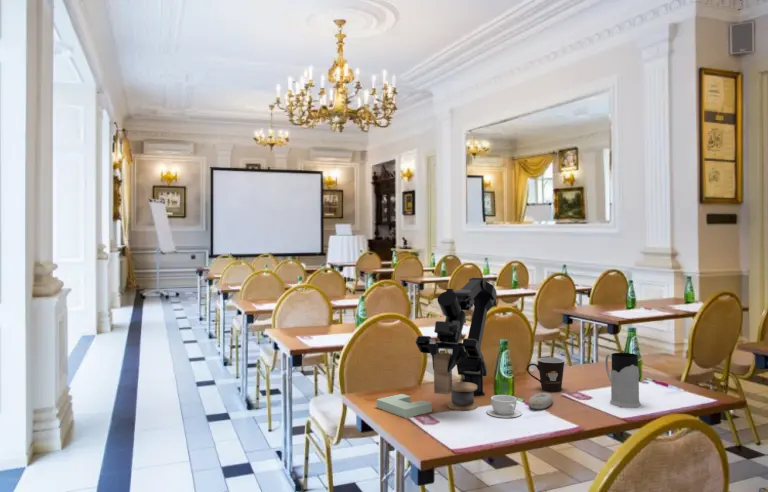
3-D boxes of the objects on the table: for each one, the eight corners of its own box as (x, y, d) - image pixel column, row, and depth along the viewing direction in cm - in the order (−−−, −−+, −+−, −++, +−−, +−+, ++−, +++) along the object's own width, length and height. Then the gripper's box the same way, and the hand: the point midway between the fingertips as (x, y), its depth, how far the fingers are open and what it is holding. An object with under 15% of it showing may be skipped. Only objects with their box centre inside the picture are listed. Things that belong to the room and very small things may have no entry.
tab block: (439, 389, 172) (438, 349, 172) (452, 391, 171) (451, 350, 170) (434, 393, 169) (433, 351, 168) (447, 394, 167) (446, 352, 167)
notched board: (402, 401, 185) (402, 393, 185) (431, 411, 174) (431, 403, 174) (376, 407, 179) (376, 399, 179) (405, 418, 168) (405, 409, 168)
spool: (471, 401, 184) (471, 381, 184) (481, 409, 175) (481, 388, 175) (444, 403, 182) (444, 382, 182) (452, 411, 174) (452, 389, 173)
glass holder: (620, 408, 174) (620, 358, 174) (594, 396, 188) (593, 349, 188) (647, 406, 176) (646, 356, 176) (618, 394, 190) (618, 348, 190)
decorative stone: (558, 400, 184) (557, 390, 184) (544, 413, 171) (544, 401, 171) (538, 398, 188) (538, 387, 187) (524, 410, 174) (523, 399, 174)
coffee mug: (567, 388, 198) (567, 359, 198) (560, 394, 191) (560, 363, 191) (534, 384, 205) (533, 355, 204) (525, 389, 197) (525, 360, 197)
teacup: (480, 411, 174) (480, 395, 174) (508, 407, 178) (508, 392, 178) (499, 421, 165) (498, 404, 164) (528, 416, 168) (528, 400, 168)
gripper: (417, 309, 177) (402, 352, 167) (476, 311, 168) (465, 357, 159) (427, 330, 184) (414, 373, 174) (485, 334, 176) (474, 379, 166)
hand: (441, 370), depth 168 cm, fingers closed on tab block, 4 cm apart
